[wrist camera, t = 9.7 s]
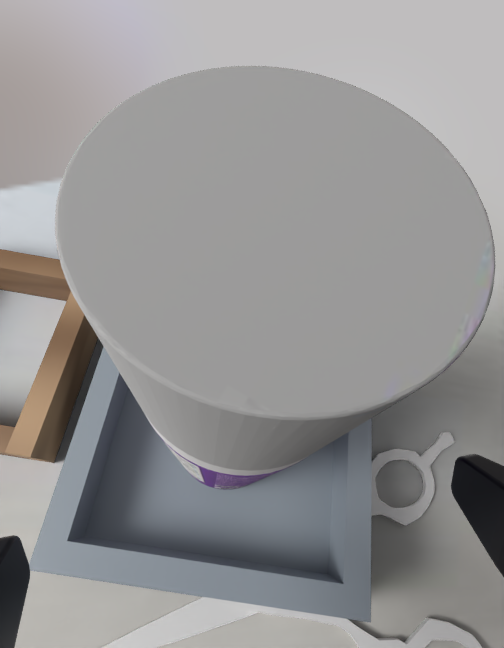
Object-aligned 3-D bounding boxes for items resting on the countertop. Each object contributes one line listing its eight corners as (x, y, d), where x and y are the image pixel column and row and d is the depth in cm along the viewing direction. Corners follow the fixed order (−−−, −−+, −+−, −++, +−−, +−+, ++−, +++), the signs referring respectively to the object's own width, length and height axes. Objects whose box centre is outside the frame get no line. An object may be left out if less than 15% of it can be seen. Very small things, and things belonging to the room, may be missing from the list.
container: (287, 400, 18) (505, 115, 5) (263, 503, 16) (521, 516, 3) (195, 373, 18) (152, 21, 5) (160, 472, 16) (-80, 337, 3)
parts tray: (343, 601, 16) (370, 622, 13) (59, 557, 16) (27, 569, 13) (351, 342, 21) (372, 319, 18) (138, 304, 21) (127, 275, 18)
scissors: (541, 705, 15) (-10, 831, 12) (525, 696, 16) (2, 813, 13) (451, 431, 19) (33, 475, 16) (443, 433, 20) (40, 476, 17)
